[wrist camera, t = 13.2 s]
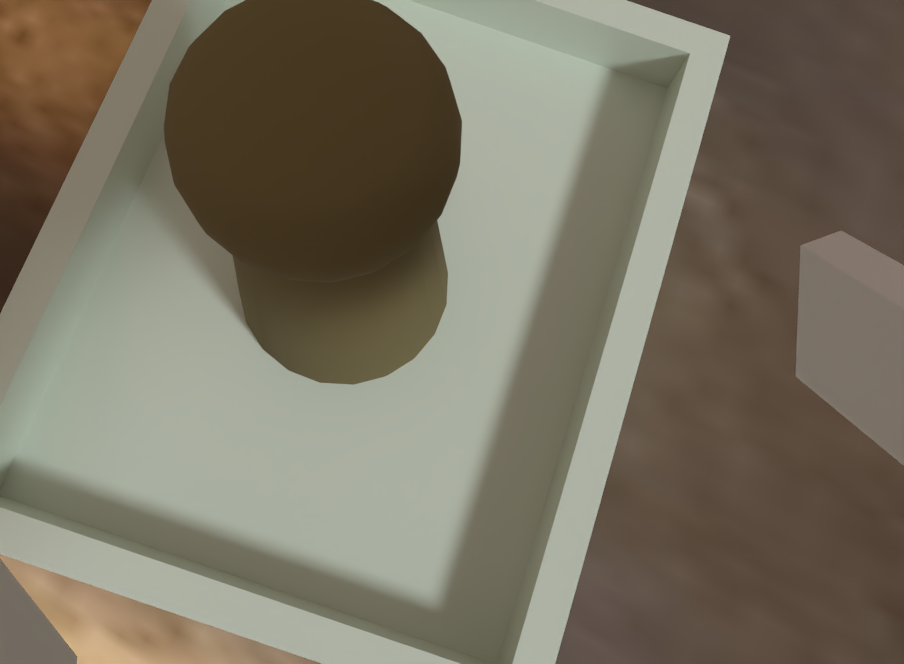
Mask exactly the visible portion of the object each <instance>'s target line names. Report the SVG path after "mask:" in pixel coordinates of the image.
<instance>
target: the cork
mask: <svg viewBox="0 0 904 664" xmlns="http://www.w3.org/2000/svg"><path fill="white" fill-rule="evenodd" d="M461 135H462V119H461V116H460V112H459V109H458V106H457V102H456V99H455V96H454V92H453V89H452V86H451V82H450V79H449V76H448V73H447V70H446V67H445V66H444V64H443V63H442V61H441V60H440V59H439V57H438V56H437V54H436V53H435V52H434V50H433V49H432V47H431V46H430V44H429V43H428V42H427V40H426V39H425V37H424V36H423V35H422V33H421V32H419V31H418V30H417V29H416V28H414V27H413V26H412V25H410V24H409V23H408V22H406V21H405V20H404V19H402V18H401V17H400V16H398V15H397V14H396V13H395V12H393V11H392V10H391V9H389V8H388V7H386V6H384V5H383V4H381V3H379V2H376V1H374V0H245V1H243V2H241V3H239V4H237V5H235V6H233V7H231V8H229V9H227V10H225V11H224V12H223V13H222V14H221V15H220V16H219V17H218V18H217V19H216V20H215V21H214V22H213V23H212V24H211V25H210V26H209V27H208V28H207V29H206V30H205V31H204V32H203V33H202V34H201V35H200V36H199V37H197V38H196V40H195V41H194V42H193V43H192V44H191V45H190V46H189V47H188V49H187V51H186V53H185V55H184V57H183V59H182V61H181V63H180V65H179V67H178V69H177V71H176V73H175V74H174V76H173V78H172V80H171V82H170V84H169V92H168V99H167V107H166V114H165V121H164V140H165V145H166V150H167V155H168V159H169V164H170V168H171V173H172V178H173V182H174V185H175V187H176V188H177V190H178V191H179V193H180V195H181V196H182V198H183V199H184V201H185V203H186V204H187V206H188V207H189V209H190V210H191V212H192V214H193V215H194V217H195V218H196V220H197V222H198V223H199V225H200V226H201V227H202V229H203V230H204V232H205V233H206V234H207V235H208V236H209V237H211V238H212V239H213V240H214V241H216V242H217V243H218V244H219V245H221V246H222V247H223V248H224V249H226V250H227V251H228V252H229V253H230V254H232V255H233V260H234V266H235V271H236V277H237V283H238V289H239V294H240V298H241V302H242V307H243V311H244V315H245V320H246V323H247V325H248V326H249V328H250V329H251V331H252V333H253V334H254V336H255V337H256V339H257V341H258V342H259V344H260V345H261V347H262V349H263V350H264V351H265V352H267V353H268V354H269V355H270V356H271V357H273V358H274V359H275V360H276V361H278V362H279V363H280V364H281V365H282V366H284V367H285V368H286V369H287V370H289V371H291V372H294V373H296V374H299V375H301V376H304V377H307V378H309V379H312V380H314V381H317V382H320V383H334V384H352V385H354V384H358V383H362V382H366V381H370V380H374V379H377V378H381V377H385V376H387V375H389V374H391V373H392V372H394V371H395V370H397V369H399V368H400V367H402V366H403V365H405V364H407V363H408V362H410V361H411V360H413V359H414V358H415V357H416V356H417V355H418V354H419V352H420V351H421V350H422V349H423V348H424V346H425V345H426V344H427V343H428V342H429V340H430V339H431V338H432V337H433V336H434V334H435V333H436V330H437V327H438V325H439V322H440V320H441V317H442V315H443V312H444V310H445V307H446V304H447V285H448V270H447V265H446V261H445V256H444V251H443V246H442V241H441V236H440V231H439V227H438V222H437V220H438V218H439V217H440V216H441V215H442V212H443V210H444V207H445V205H446V202H447V200H448V197H449V195H450V193H451V190H452V188H453V185H454V183H455V180H456V178H457V174H458V170H459V166H460V156H461Z"/></svg>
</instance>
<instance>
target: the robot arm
mask: <svg viewBox="0 0 904 664" xmlns="http://www.w3.org/2000/svg"><path fill="white" fill-rule="evenodd" d="M796 377H797V378H798V379H799V380H801V381H802V382H803V383H804V384H805V385H807V386H808V387H809V388H810V389H812V390H813V391H814V392H815V393H816V394H818V395H819V396H820V397H821V398H822V399H824V400H825V401H826V402H827V403H828V404H830V405H831V406H832V407H833V408H835V409H836V410H837V411H838V412H839V413H841V414H842V415H843V416H844V417H845V418H847V419H848V420H849V421H850V422H851V423H853V424H854V425H855V426H856V427H858V428H859V429H860V430H861V431H862V432H864V433H865V434H866V435H867V436H868V437H870V438H871V439H872V440H873V441H874V442H876V443H877V444H878V445H879V446H881V447H882V448H883V449H884V450H885V451H887V452H888V453H889V454H890V455H891V456H893V457H894V458H895V459H896V460H897V461H899V462H900V463H901V464H902V465H904V265H902V264H900V263H899V262H897V261H895V260H893V259H891V258H890V257H888V256H886V255H884V254H882V253H881V252H879V251H877V250H875V249H873V248H872V247H870V246H868V245H866V244H864V243H863V242H861V241H859V240H857V239H856V238H854V237H852V236H850V235H848V234H847V233H845V232H843V231H839V232H836V233H833V234H831V235H828V236H825V237H822V238H820V239H817V240H814V241H811V242H809V243H806V244H803V245H801V253H800V278H799V303H798V329H797V354H796ZM0 664H77V656H76V655H75V653H74V652H73V651H72V649H71V648H70V647H69V646H68V644H67V643H66V642H65V641H64V639H63V638H62V637H61V635H60V634H59V633H58V632H57V630H56V629H55V628H54V627H53V625H52V624H51V623H50V622H49V620H48V619H47V618H46V616H45V615H44V614H43V613H42V611H41V610H40V609H39V608H38V606H37V605H36V604H35V602H34V601H33V600H32V599H31V597H30V596H29V595H28V594H27V592H26V591H25V590H24V588H23V587H22V586H21V585H20V583H19V582H18V581H17V580H16V578H15V577H14V576H13V574H12V573H11V572H10V571H9V569H8V568H7V567H6V566H5V564H4V563H3V562H2V561H1V559H0Z"/></svg>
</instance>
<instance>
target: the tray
mask: <svg viewBox="0 0 904 664" xmlns="http://www.w3.org/2000/svg"><path fill="white" fill-rule="evenodd" d="M243 1H245V0H152V1H151V3H150V5H149V7H148V9H147V11H146V13H145V15H144V17H143V19H142V22H141V24H140V26H139V28H138V30H137V32H136V34H135V36H134V38H133V40H132V42H131V44H130V46H129V48H128V50H127V53H126V55H125V57H124V59H123V61H122V63H121V65H120V67H119V69H118V71H117V73H116V75H115V77H114V79H113V82H112V84H111V86H110V88H109V90H108V92H107V94H106V96H105V98H104V100H103V102H102V104H101V106H100V108H99V110H98V113H97V115H96V117H95V119H94V121H93V123H92V125H91V127H90V129H89V131H88V133H87V135H86V137H85V139H84V142H83V144H82V146H81V148H80V150H79V152H78V154H77V156H76V158H75V160H74V162H73V164H72V166H71V168H70V170H69V173H68V175H67V177H66V179H65V181H64V183H63V185H62V187H61V189H60V191H59V193H58V195H57V197H56V199H55V202H54V204H53V206H52V208H51V210H50V212H49V214H48V216H47V218H46V220H45V222H44V224H43V226H42V228H41V230H40V233H39V235H38V237H37V239H36V241H35V243H34V245H33V247H32V249H31V251H30V253H29V255H28V257H27V259H26V261H25V264H24V266H23V268H22V270H21V272H20V274H19V276H18V278H17V280H16V282H15V284H14V286H13V288H12V290H11V293H10V295H9V297H8V299H7V301H6V303H5V305H4V307H3V309H2V311H1V313H0V554H1V555H4V556H7V557H10V558H13V559H16V560H19V561H22V562H25V563H28V564H31V565H34V566H37V567H40V568H42V569H45V570H48V571H51V572H54V573H57V574H60V575H63V576H66V577H69V578H72V579H75V580H78V581H81V582H84V583H87V584H90V585H92V586H95V587H98V588H101V589H104V590H107V591H110V592H113V593H116V594H119V595H122V596H125V597H128V598H131V599H134V600H137V601H140V602H142V603H145V604H148V605H151V606H154V607H157V608H160V609H163V610H166V611H169V612H172V613H175V614H178V615H181V616H184V617H187V618H190V619H193V620H195V621H198V622H201V623H204V624H207V625H210V626H213V627H216V628H219V629H222V630H225V631H228V632H231V633H234V634H237V635H240V636H243V637H245V638H248V639H251V640H254V641H257V642H260V643H263V644H266V645H269V646H272V647H275V648H278V649H281V650H284V651H287V652H290V653H293V654H295V655H298V656H301V657H304V658H307V659H310V660H313V661H316V662H319V663H322V664H555V662H556V659H557V655H558V651H559V648H560V644H561V641H562V637H563V634H564V630H565V626H566V623H567V619H568V616H569V612H570V608H571V605H572V601H573V598H574V594H575V591H576V587H577V583H578V580H579V576H580V573H581V569H582V565H583V562H584V558H585V555H586V551H587V548H588V544H589V540H590V537H591V533H592V530H593V526H594V523H595V519H596V515H597V512H598V508H599V505H600V501H601V497H602V494H603V490H604V487H605V483H606V480H607V476H608V472H609V469H610V465H611V462H612V458H613V454H614V451H615V447H616V444H617V440H618V437H619V433H620V429H621V426H622V422H623V419H624V415H625V411H626V408H627V404H628V401H629V397H630V394H631V390H632V386H633V383H634V379H635V376H636V372H637V368H638V365H639V361H640V358H641V354H642V351H643V347H644V343H645V340H646V336H647V333H648V329H649V325H650V322H651V318H652V315H653V311H654V308H655V304H656V300H657V297H658V293H659V290H660V286H661V283H662V279H663V275H664V272H665V268H666V265H667V261H668V257H669V254H670V250H671V247H672V243H673V240H674V236H675V232H676V229H677V225H678V222H679V218H680V214H681V211H682V207H683V204H684V200H685V197H686V193H687V189H688V186H689V182H690V179H691V175H692V171H693V168H694V164H695V161H696V157H697V154H698V150H699V146H700V143H701V139H702V136H703V132H704V128H705V125H706V121H707V118H708V114H709V111H710V107H711V103H712V100H713V96H714V93H715V89H716V85H717V82H718V78H719V75H720V71H721V68H722V64H723V60H724V57H725V53H726V50H727V46H728V43H729V39H730V36H729V35H726V34H723V33H720V32H717V31H714V30H712V29H709V28H706V27H703V26H700V25H697V24H694V23H691V22H688V21H685V20H682V19H679V18H676V17H673V16H670V15H668V14H665V13H662V12H659V11H656V10H653V9H650V8H647V7H644V6H641V5H638V4H635V3H632V2H629V1H626V0H374V1H376V2H379V3H381V4H383V5H384V6H386V7H388V8H389V9H391V10H392V11H393V12H395V13H396V14H397V15H398V16H400V17H401V18H402V19H404V20H405V21H406V22H408V23H409V24H410V25H412V26H413V27H414V28H416V29H417V30H418V31H419V32H421V33H422V35H423V36H424V37H425V39H426V40H427V42H428V43H429V44H430V46H431V47H432V49H433V50H434V52H435V53H436V54H437V56H438V57H439V59H440V60H441V61H442V63H443V64H444V66H445V67H446V70H447V73H448V76H449V79H450V82H451V86H452V89H453V92H454V96H455V99H456V102H457V106H458V109H459V112H460V116H461V119H462V135H461V156H460V166H459V170H458V174H457V178H456V180H455V183H454V185H453V188H452V190H451V193H450V195H449V197H448V200H447V202H446V205H445V207H444V210H443V212H442V215H441V216H440V217H439V218H438V220H437V222H438V227H439V231H440V236H441V241H442V246H443V251H444V256H445V261H446V265H447V270H448V285H447V304H446V307H445V310H444V312H443V315H442V317H441V320H440V322H439V325H438V327H437V330H436V333H435V334H434V336H433V337H432V338H431V339H430V340H429V342H428V343H427V344H426V345H425V346H424V348H423V349H422V350H421V351H420V352H419V354H418V355H417V356H416V357H415V358H414V359H413V360H411V361H410V362H408V363H407V364H405V365H403V366H402V367H400V368H399V369H397V370H395V371H394V372H392V373H391V374H389V375H387V376H385V377H381V378H377V379H374V380H370V381H366V382H362V383H358V384H354V385H352V384H334V383H320V382H317V381H314V380H312V379H309V378H307V377H304V376H301V375H299V374H296V373H294V372H291V371H289V370H287V369H286V368H285V367H284V366H282V365H281V364H280V363H279V362H278V361H276V360H275V359H274V358H273V357H271V356H270V355H269V354H268V353H267V352H265V351H264V350H263V349H262V347H261V345H260V344H259V342H258V341H257V339H256V337H255V336H254V334H253V333H252V331H251V329H250V328H249V326H248V325H247V323H246V320H245V315H244V311H243V307H242V302H241V298H240V294H239V289H238V283H237V277H236V271H235V266H234V260H233V255H232V254H230V253H229V252H228V251H227V250H226V249H224V248H223V247H222V246H221V245H219V244H218V243H217V242H216V241H214V240H213V239H212V238H211V237H209V236H208V235H207V234H206V233H205V232H204V230H203V229H202V227H201V226H200V225H199V223H198V222H197V220H196V218H195V217H194V215H193V214H192V212H191V210H190V209H189V207H188V206H187V204H186V203H185V201H184V199H183V198H182V196H181V195H180V193H179V191H178V190H177V188H176V187H175V185H174V182H173V178H172V173H171V168H170V164H169V159H168V155H167V150H166V145H165V140H164V121H165V114H166V107H167V99H168V92H169V84H170V82H171V80H172V78H173V76H174V74H175V73H176V71H177V69H178V67H179V65H180V63H181V61H182V59H183V57H184V55H185V53H186V51H187V49H188V47H189V46H190V45H191V44H192V43H193V42H194V41H195V40H196V38H197V37H199V36H200V35H201V34H202V33H203V32H204V31H205V30H206V29H207V28H208V27H209V26H210V25H211V24H212V23H213V22H214V21H215V20H216V19H217V18H218V17H219V16H220V15H221V14H222V13H223V12H224V11H225V10H227V9H229V8H231V7H233V6H235V5H237V4H239V3H241V2H243Z"/></svg>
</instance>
